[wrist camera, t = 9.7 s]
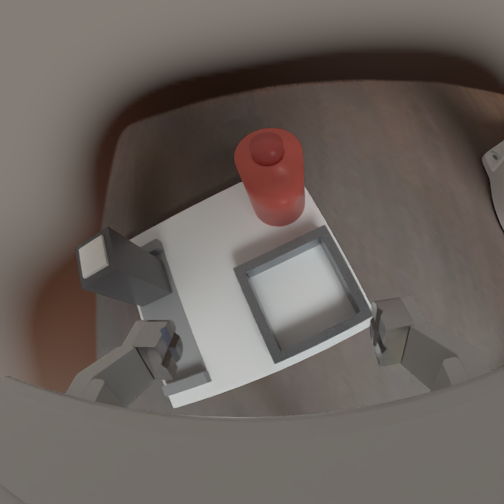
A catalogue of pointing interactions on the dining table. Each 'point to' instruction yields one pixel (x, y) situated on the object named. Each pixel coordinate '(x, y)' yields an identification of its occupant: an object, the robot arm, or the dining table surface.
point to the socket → (284, 254)
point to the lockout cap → (272, 175)
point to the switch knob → (121, 269)
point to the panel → (240, 293)
